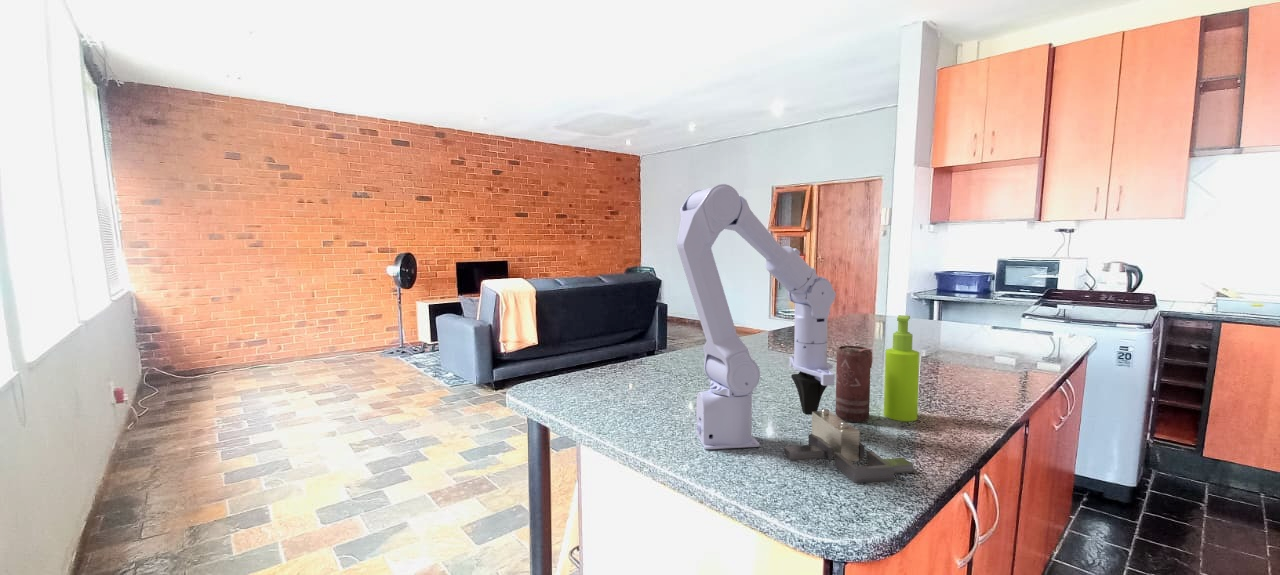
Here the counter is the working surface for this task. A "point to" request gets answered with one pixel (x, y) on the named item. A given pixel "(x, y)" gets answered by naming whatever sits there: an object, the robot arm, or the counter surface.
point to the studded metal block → (836, 434)
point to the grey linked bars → (872, 473)
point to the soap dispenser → (901, 375)
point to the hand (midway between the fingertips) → (809, 413)
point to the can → (853, 383)
